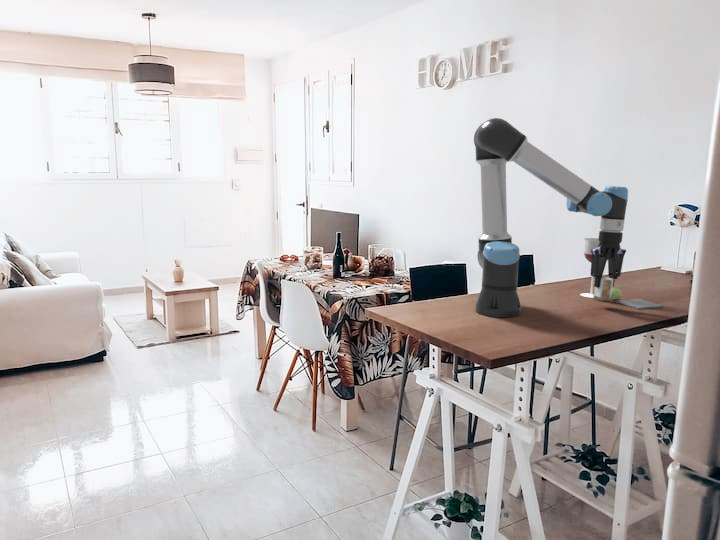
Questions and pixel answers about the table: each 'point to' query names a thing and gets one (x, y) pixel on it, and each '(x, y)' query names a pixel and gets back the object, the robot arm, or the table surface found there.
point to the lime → (616, 293)
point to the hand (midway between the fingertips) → (602, 296)
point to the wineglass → (590, 259)
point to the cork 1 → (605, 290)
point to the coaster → (638, 304)
